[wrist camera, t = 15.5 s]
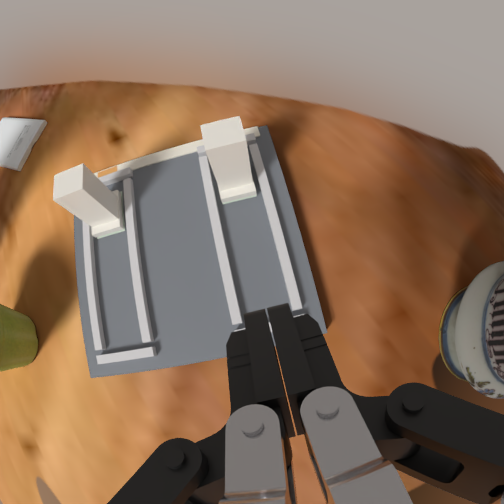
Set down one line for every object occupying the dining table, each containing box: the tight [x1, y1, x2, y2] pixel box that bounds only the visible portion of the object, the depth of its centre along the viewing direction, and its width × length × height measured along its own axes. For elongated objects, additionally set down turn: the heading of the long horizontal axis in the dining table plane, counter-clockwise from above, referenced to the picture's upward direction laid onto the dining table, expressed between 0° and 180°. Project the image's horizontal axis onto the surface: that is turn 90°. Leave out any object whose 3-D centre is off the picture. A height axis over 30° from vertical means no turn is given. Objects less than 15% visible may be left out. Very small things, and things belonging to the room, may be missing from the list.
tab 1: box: [53, 164, 123, 238], centre depth 26 cm, size 3×4×8 cm
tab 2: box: [200, 116, 257, 203], centre depth 26 cm, size 3×4×8 cm
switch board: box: [74, 125, 327, 378], centre depth 29 cm, size 22×21×2 cm
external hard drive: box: [0, 117, 47, 171], centre depth 37 cm, size 2×8×12 cm
